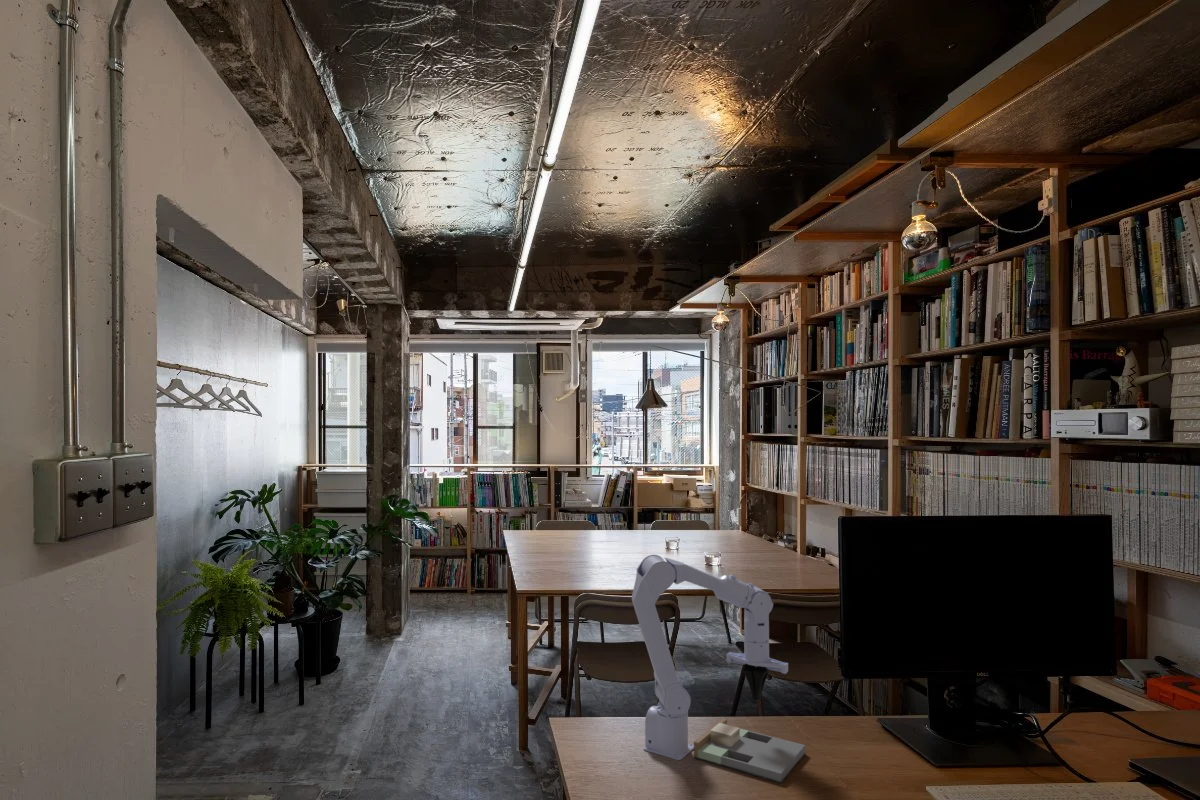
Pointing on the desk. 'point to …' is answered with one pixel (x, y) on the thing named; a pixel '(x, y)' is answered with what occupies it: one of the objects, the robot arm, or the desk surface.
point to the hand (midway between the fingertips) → (756, 698)
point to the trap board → (752, 754)
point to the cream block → (725, 734)
